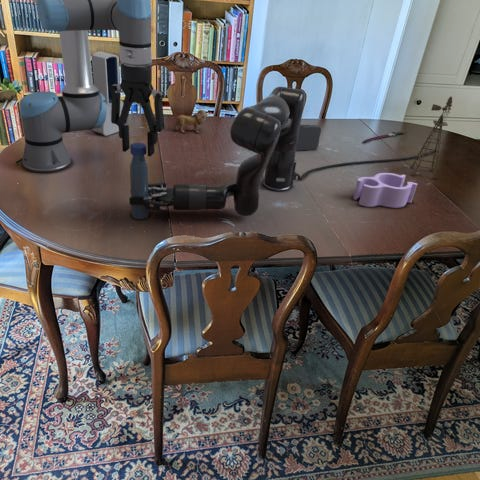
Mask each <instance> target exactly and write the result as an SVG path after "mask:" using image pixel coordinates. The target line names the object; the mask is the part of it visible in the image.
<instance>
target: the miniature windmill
mask: <svg viewBox="0 0 480 480" xmlns="http://www.w3.org/2000/svg"><path fill="white" fill-rule="evenodd" d="M445 103H446V104H445V106H444V107H442V106H441V105H438V104H434V103H433V104H432V106H431V109H430V110H431V111H438V112H439V111H442V114H440V116H439V117H438V118H437V120H436V119H435V120H434V119H433V121H432V123H433V125H434V126H433V127H432V129H431V132H430V134H429V135H428V137H427V138H426V140H425V142H424V143H423V146H422V147H421V148H420V150H419V152H418V153H417V155H418V156H417V157H416V158H414V161H413V163H412V165H411V167H410V168H412V169H413V168H414V166H416V168H415V170H414V172H413V176H416V174H417V172H418V170H419V168H423V169H429V170H430V172H431V171H432V172H433V171H434V174H433V179H436V177H437V171H438V169H439V168H438V161H439V157H440V155H439V154H440V146H441V138H442V133H443V127H448V126H449V124H448V122H447V119H445V117H446V116H449V115H450V113H451V112H450V111H451V110H452V108H451V107H453V105H452V104H453V97H452V96H449V97H448V99H447V101H446V102H445ZM438 127H439V128H438ZM436 133H437V138H434V136H435V135H436ZM432 140H433V141H432ZM431 144H435V148H429V147H430V145H431ZM423 150H424V151H423ZM428 150H429V151H433V150H434V151H435V152H433V153H430V154H429V153H427V151H428ZM421 154H423V155H422V156H421V157H420V155H421ZM425 154H428V155H429V156H433V157H432V160H427V159H424V157H425V156H426V155H425ZM417 161H419V162H417ZM422 162H427V163H431V167H430V166H429V167H428V166H422V165H421V164H422Z"/></svg>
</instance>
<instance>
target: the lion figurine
mask: <svg viewBox="0 0 480 480" xmlns="http://www.w3.org/2000/svg"><path fill="white" fill-rule="evenodd" d="M206 118H207V111H206V110H204V109H199V110H197V112H195V113H194V114H193V115H191V116H188V115H184V114H181V115H178V116H177V117H176V119H175V122H174V126H173V128H172V129H171V131H175V130H176V131H178V130H180V132H181V133H183V134H184V133H185V132H186V131H185V130H184V129H183V127H184V125H187V126H193V128H192V129H193V131H195V133H197V134H198V133H200V131H199V126H201V125H203V123H204V122H205V121H206ZM178 126H179V128H178Z"/></svg>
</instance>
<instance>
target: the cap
mask: <svg viewBox="0 0 480 480" xmlns="http://www.w3.org/2000/svg"><path fill="white" fill-rule="evenodd" d="M129 145H130V148H129V149H130V154H131V155H132V156H133V155H134V156H143V155H144V156H146V155H147V144H146V143H143V142H133V143H131V144H129Z"/></svg>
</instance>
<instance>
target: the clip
mask: <svg viewBox="0 0 480 480" xmlns="http://www.w3.org/2000/svg"><path fill="white" fill-rule="evenodd" d="M406 177H407V175H406V174H397V173H393V172H378V173H376V174H375V175H374V176H361V177H358V178H357V181H356V185H355V189H354V192H353V197H352V199H353V200H355V201H357V200H358V199H359V202H358V205H360V206H363V207H367V208H372V207H376V206H383V207H386V208H387V207H388V208H395V209H398V208H403V207H405V206H406V205H407V203H409V204H412V202H413V200H414V196H415V193H416V190H417V187H418V183H417V182H412V181H407V183H406V185H405V186H404V183H405V181H406Z"/></svg>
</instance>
